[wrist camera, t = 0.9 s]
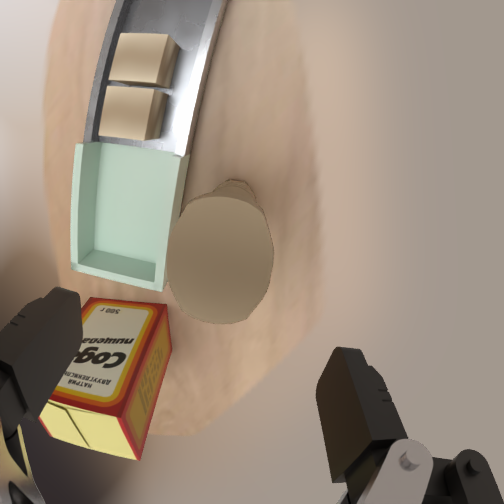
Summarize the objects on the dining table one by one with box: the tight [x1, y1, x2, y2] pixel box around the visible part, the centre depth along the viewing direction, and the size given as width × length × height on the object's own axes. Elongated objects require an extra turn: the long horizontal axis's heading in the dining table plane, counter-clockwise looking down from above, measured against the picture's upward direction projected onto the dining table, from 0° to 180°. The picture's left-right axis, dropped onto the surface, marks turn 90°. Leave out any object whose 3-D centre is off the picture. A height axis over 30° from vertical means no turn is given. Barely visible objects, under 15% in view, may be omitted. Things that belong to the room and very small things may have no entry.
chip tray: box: [71, 142, 190, 292], centre depth 26 cm, size 12×10×4 cm
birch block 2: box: [99, 86, 168, 141], centre depth 22 cm, size 4×4×4 cm
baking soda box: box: [38, 297, 172, 461], centre depth 26 cm, size 10×6×16 cm
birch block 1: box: [109, 33, 180, 89], centre depth 20 cm, size 4×4×4 cm
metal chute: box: [83, 0, 228, 156], centre depth 21 cm, size 20×10×3 cm, turn 167°
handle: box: [167, 179, 274, 324], centre depth 21 cm, size 5×6×15 cm
